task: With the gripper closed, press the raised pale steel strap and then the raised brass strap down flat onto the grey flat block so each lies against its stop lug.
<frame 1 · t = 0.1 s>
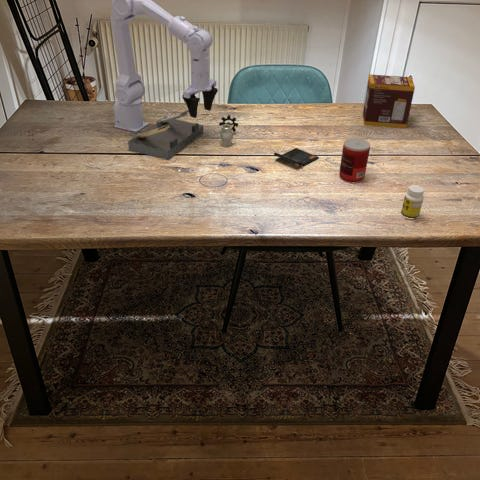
hand: (200, 113, 173), 10 cm above the table, tool pointing down, fingers open, 7 cm apart
valve: (227, 140, 181), on the table
canned food: (351, 177, 161), on the table
supplement bottle: (409, 215, 144), on the table
brass strap: (152, 131, 169), point 6 cm above the table, hinge at 25.0°
grey flat block: (167, 141, 178), on the table
steel strap: (175, 116, 180), point 6 cm above the table, hinge at 25.0°
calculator: (296, 160, 170), on the table
supplement box: (383, 122, 197), on the table
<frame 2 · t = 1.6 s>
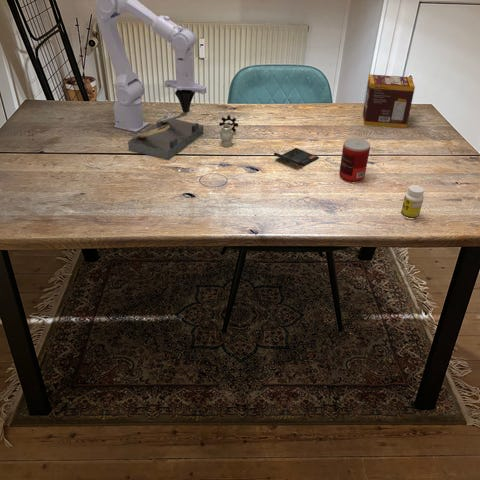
hand: (186, 111, 177), 9 cm above the table, tool pointing down, fingers closed
steel strap: (175, 116, 180), point 6 cm above the table, hinge at 25.0°, touching gripper
everything else where it was.
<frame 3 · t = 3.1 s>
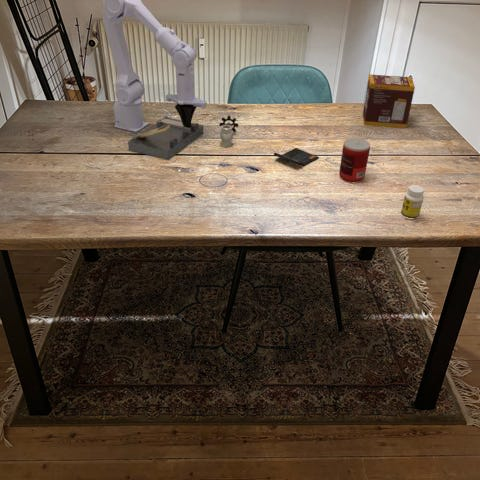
hand: (186, 124, 180), 4 cm above the table, tool pointing down, fingers closed
steel strap: (177, 124, 181), point 4 cm above the table, hinge at -0.3°, touching gripper
everything else where it was.
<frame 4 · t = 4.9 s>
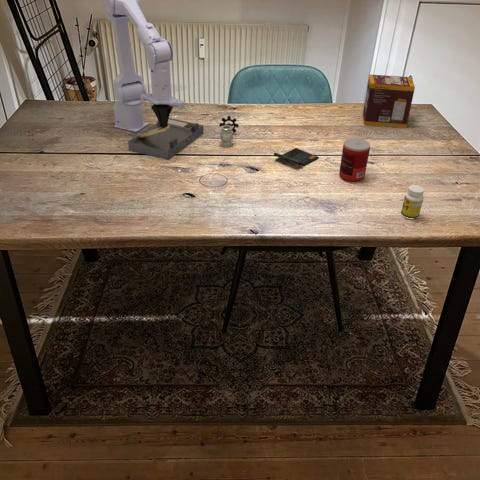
hand: (163, 126, 166), 9 cm above the table, tool pointing down, fingers closed
brass strap: (152, 131, 169), point 6 cm above the table, hinge at 24.7°, touching gripper
steel strap: (177, 124, 181), point 4 cm above the table, hinge at -0.3°
everything else where it was.
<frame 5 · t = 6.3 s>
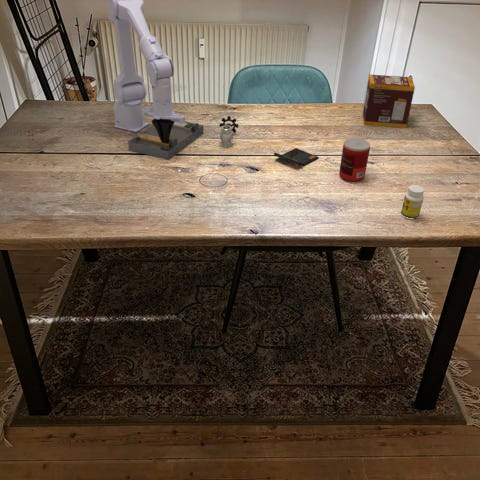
hand: (164, 140, 169), 4 cm above the table, tool pointing down, fingers closed
brass strap: (155, 139, 171), point 4 cm above the table, hinge at -0.3°, touching gripper
everything else where it was.
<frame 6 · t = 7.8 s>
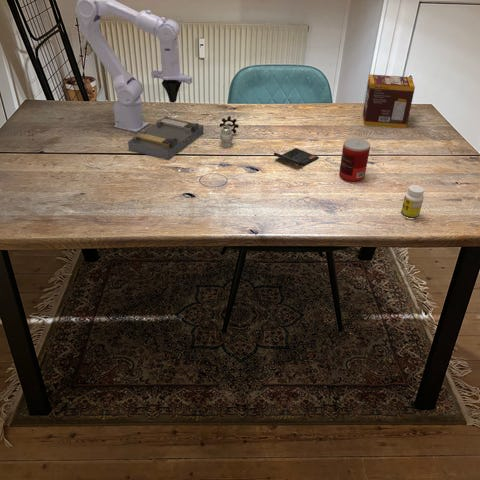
hand: (173, 101, 180), 10 cm above the table, tool pointing down, fingers closed
brass strap: (155, 139, 171), point 4 cm above the table, hinge at -0.3°
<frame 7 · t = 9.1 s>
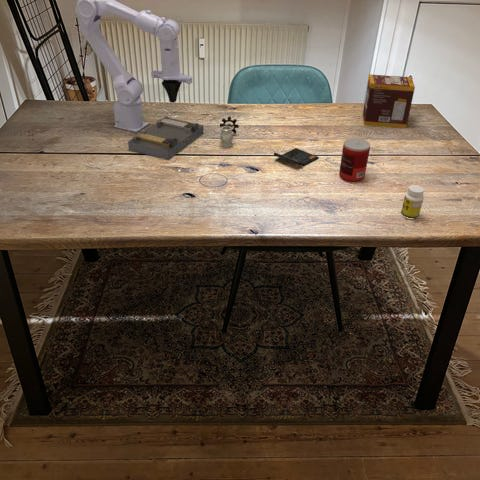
hand: (173, 101, 180), 10 cm above the table, tool pointing down, fingers closed
at the end: steel strap at +0° (first picture: +25°); brass strap at +0° (first picture: +25°) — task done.
